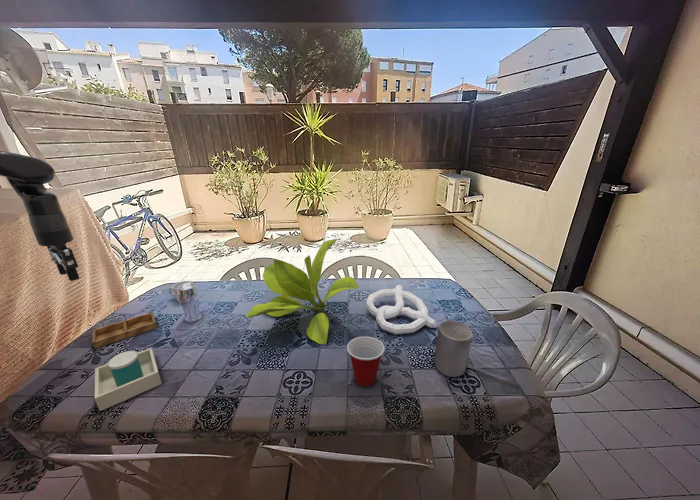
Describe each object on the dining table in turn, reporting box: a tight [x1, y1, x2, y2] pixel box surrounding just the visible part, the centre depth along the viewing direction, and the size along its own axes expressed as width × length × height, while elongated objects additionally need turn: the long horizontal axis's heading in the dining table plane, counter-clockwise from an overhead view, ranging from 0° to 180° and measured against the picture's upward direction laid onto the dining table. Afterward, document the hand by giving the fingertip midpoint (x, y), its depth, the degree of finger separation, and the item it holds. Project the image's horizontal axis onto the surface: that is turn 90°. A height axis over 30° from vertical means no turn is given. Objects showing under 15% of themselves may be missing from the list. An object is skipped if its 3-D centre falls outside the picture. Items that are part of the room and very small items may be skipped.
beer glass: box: [177, 281, 203, 323], centre depth 108 cm, size 7×7×15 cm
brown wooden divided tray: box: [91, 311, 158, 350], centre depth 101 cm, size 18×9×3 cm, turn 131°
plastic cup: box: [346, 336, 386, 387], centre depth 79 cm, size 11×11×12 cm
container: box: [107, 350, 144, 387], centre depth 78 cm, size 6×6×8 cm
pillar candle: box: [433, 320, 474, 378], centre depth 84 cm, size 10×10×15 cm
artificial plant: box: [245, 238, 360, 345], centre depth 106 cm, size 42×43×30 cm
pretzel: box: [365, 284, 438, 335], centre depth 112 cm, size 28×24×6 cm
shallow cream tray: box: [94, 347, 162, 412], centre depth 79 cm, size 14×14×5 cm
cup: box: [167, 280, 192, 303], centre depth 123 cm, size 11×8×8 cm
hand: (69, 276), depth 87 cm, fingers open, 8 cm apart
